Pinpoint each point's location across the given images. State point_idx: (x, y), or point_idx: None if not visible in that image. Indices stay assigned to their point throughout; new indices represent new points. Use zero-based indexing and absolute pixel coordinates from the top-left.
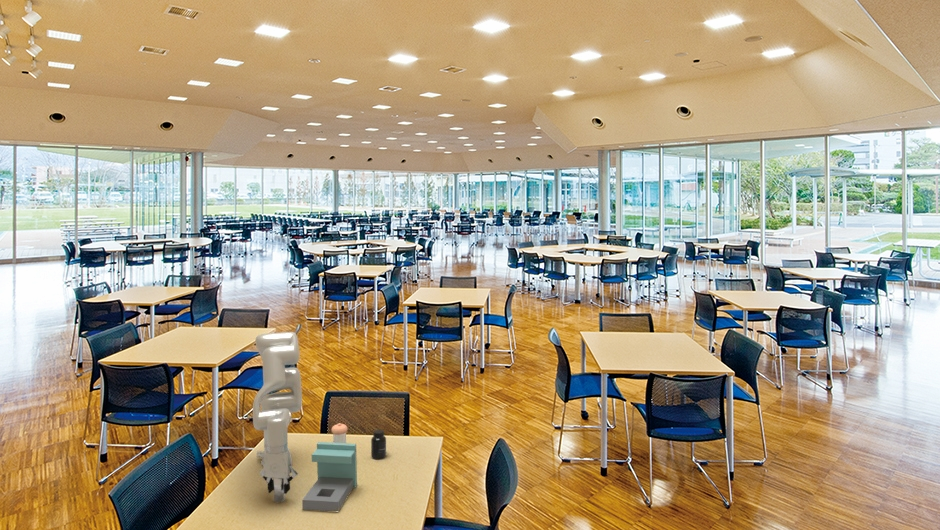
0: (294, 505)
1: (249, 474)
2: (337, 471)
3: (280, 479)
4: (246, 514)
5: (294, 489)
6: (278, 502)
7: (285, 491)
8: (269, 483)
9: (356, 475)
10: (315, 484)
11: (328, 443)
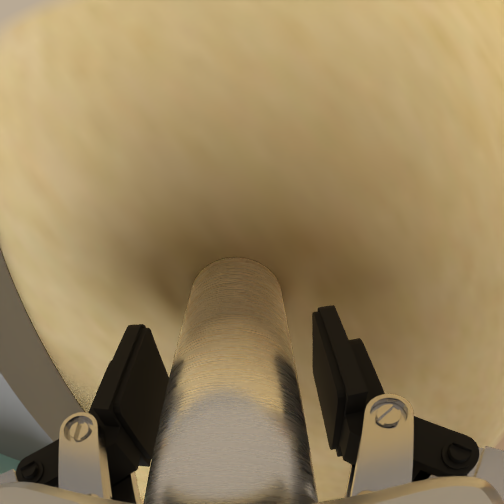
0: (64, 251)
1: (490, 417)
2: None
3: (153, 479)
4: (394, 28)
5: None
6: (216, 261)
7: (122, 341)
8: (351, 398)
9: None
10: (37, 429)
11: None
